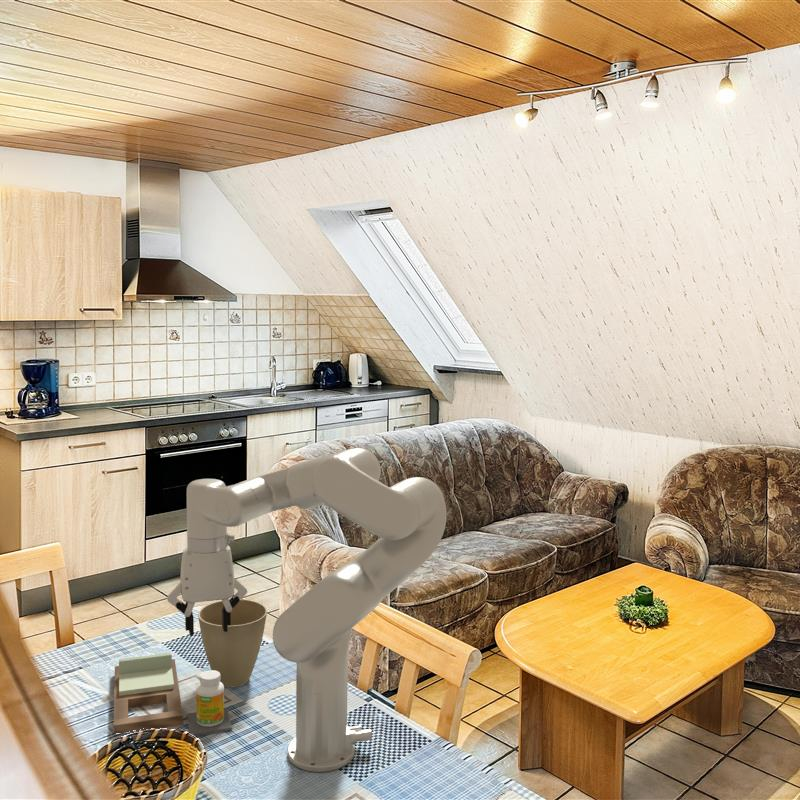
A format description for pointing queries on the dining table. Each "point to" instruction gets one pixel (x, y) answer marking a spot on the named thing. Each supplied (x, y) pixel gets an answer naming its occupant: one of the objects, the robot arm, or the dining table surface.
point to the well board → (145, 699)
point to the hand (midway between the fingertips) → (208, 630)
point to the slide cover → (145, 674)
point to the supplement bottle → (210, 699)
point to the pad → (202, 730)
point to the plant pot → (233, 639)
